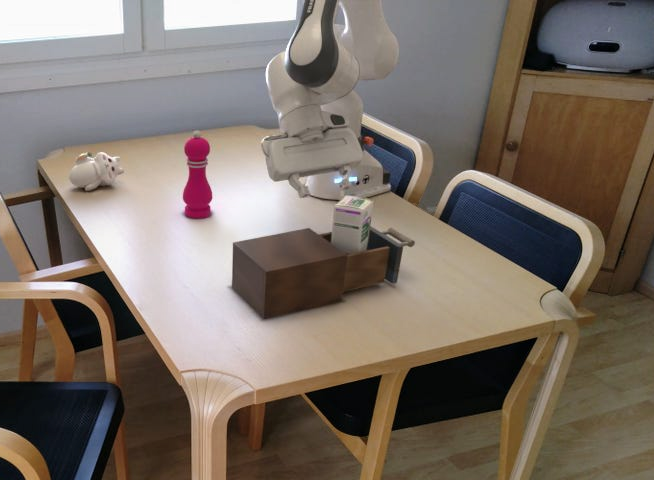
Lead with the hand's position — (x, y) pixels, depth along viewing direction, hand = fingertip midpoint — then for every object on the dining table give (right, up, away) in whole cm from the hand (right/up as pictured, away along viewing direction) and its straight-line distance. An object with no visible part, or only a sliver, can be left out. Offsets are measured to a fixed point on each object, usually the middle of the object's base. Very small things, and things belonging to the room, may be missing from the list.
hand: (325, 192), depth 135 cm
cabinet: (-9, -21, -4) cm, 23 cm away
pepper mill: (-25, +2, +32) cm, 40 cm away
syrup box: (+4, -16, -1) cm, 17 cm away
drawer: (+6, -16, 0) cm, 17 cm away
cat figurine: (-51, +14, +50) cm, 73 cm away
